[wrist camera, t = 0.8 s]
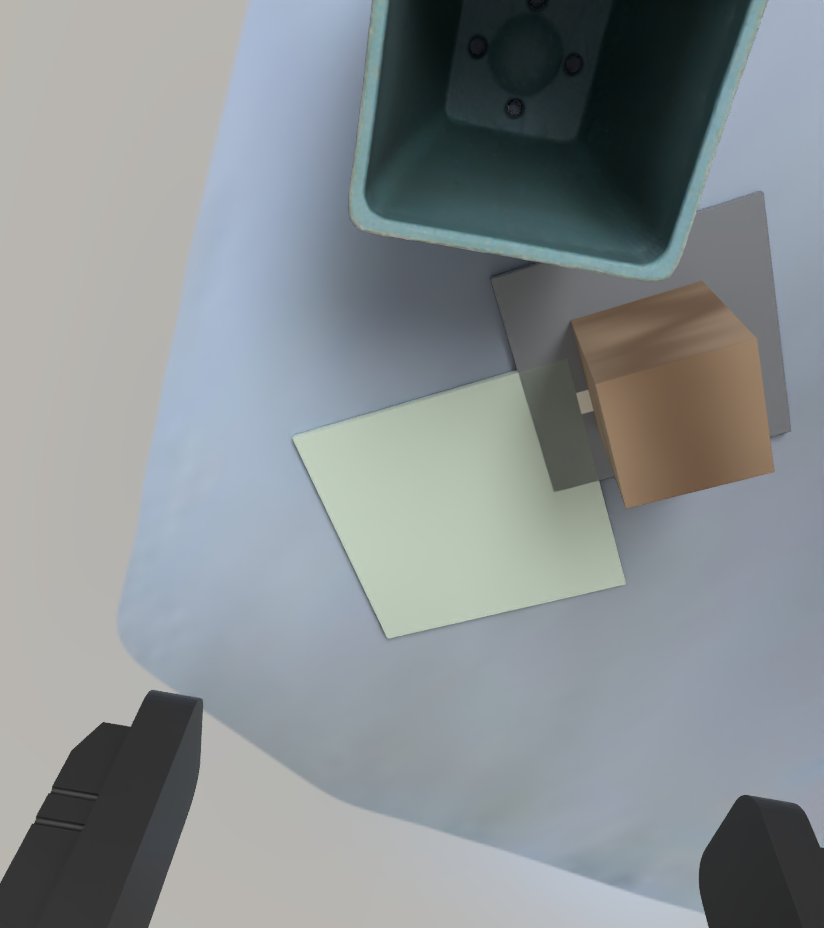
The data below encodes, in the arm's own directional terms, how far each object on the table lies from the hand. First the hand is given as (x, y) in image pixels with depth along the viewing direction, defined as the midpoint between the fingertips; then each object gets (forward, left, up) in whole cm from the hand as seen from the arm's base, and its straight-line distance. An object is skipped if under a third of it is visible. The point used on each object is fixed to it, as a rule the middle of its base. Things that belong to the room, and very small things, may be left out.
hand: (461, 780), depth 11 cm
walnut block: (-7, +4, -21) cm, 23 cm away
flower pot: (-5, -8, -22) cm, 24 cm away
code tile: (-7, +4, -22) cm, 23 cm away
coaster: (+2, +9, -22) cm, 24 cm away
